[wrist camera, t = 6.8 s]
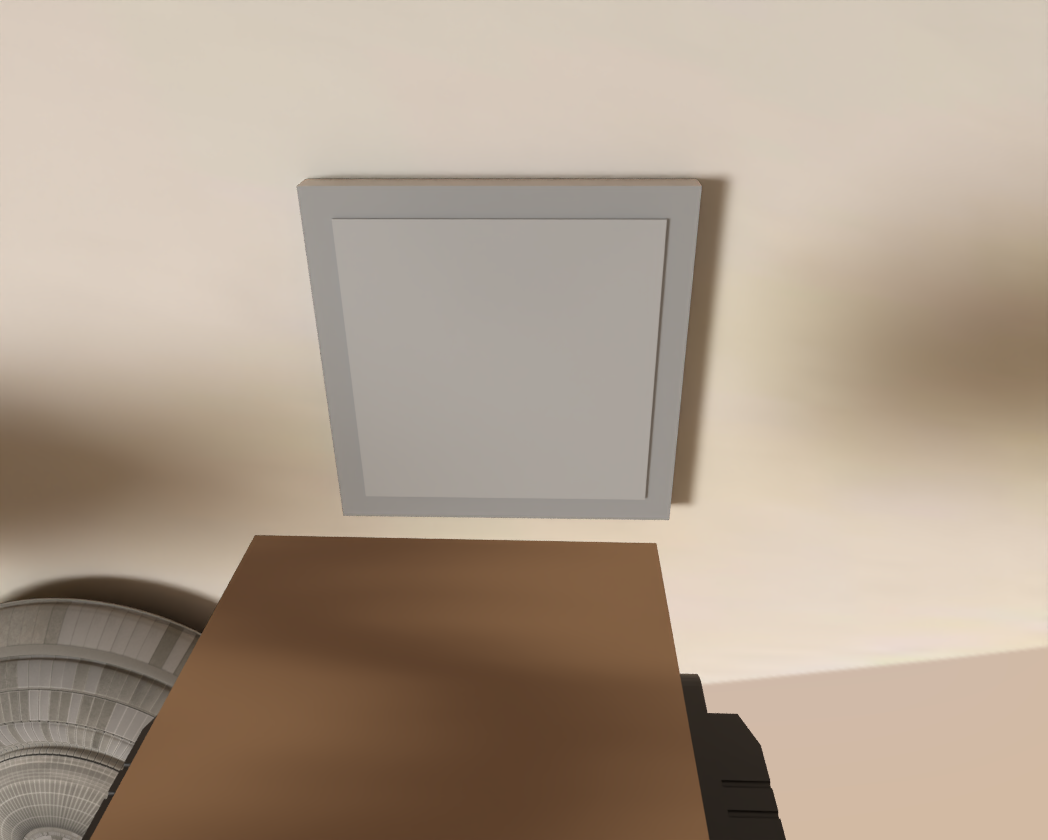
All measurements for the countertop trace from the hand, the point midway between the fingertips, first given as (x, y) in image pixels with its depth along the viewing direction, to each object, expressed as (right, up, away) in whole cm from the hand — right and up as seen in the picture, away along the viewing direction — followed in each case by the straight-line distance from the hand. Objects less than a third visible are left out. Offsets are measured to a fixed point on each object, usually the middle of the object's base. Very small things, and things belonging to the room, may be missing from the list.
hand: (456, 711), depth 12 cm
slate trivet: (0, +6, +11) cm, 13 cm away
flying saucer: (-14, -7, +20) cm, 25 cm away
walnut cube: (0, 0, 0) cm, 1 cm away
